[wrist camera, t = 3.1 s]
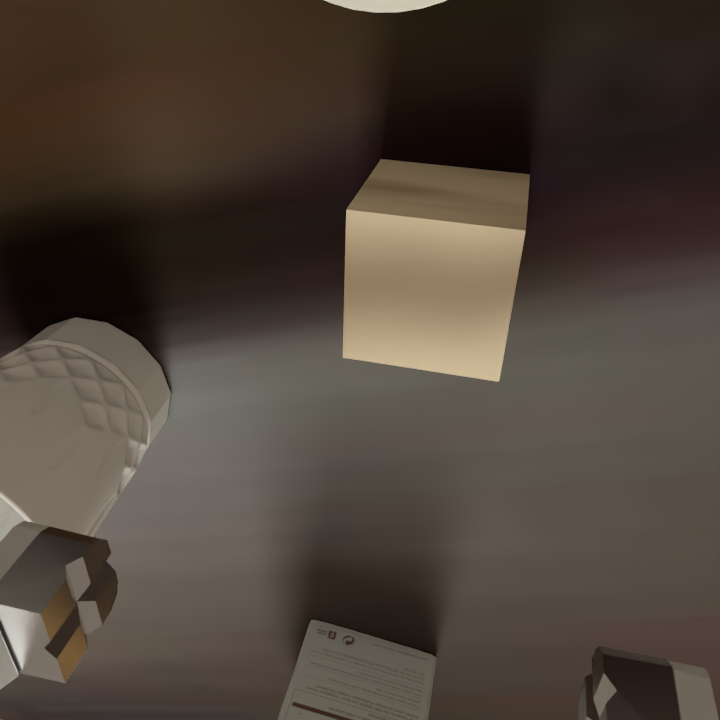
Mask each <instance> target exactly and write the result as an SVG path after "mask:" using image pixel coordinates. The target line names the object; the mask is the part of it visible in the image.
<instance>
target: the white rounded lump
mask: <svg viewBox="0 0 720 720" xmlns="http://www.w3.org/2000/svg"><path fill="white" fill-rule="evenodd" d="M325 1H327V2H329V3H332V4H336V5H339V6H343V7H346V8H349V9H353V10H361V11H368V12H375V13H376V12H403V11H410V10H416V9H422V8H425V7H429V6H432V5H435V4H438V3H441V2H445V1H447V0H325Z"/></svg>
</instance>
